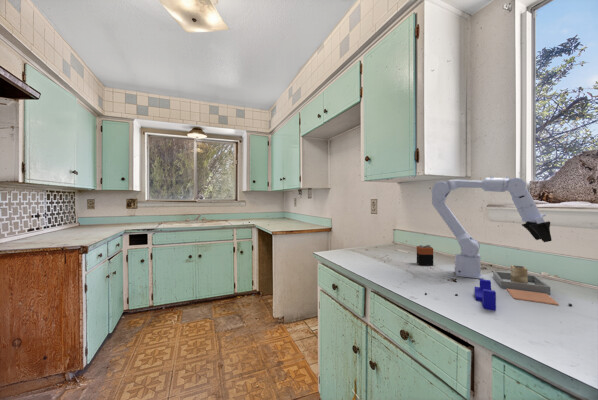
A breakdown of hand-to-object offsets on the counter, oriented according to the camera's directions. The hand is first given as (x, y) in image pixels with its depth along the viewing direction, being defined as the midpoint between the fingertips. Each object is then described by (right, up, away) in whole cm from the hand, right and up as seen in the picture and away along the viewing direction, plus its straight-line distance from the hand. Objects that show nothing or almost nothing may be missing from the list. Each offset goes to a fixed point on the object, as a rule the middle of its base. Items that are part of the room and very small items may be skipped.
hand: (543, 240), depth 91 cm
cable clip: (-31, -19, -11) cm, 38 cm away
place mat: (-12, -18, -8) cm, 23 cm away
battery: (-28, -18, +32) cm, 46 cm away
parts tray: (-6, -18, +3) cm, 19 cm away
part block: (-6, -18, +3) cm, 19 cm away
